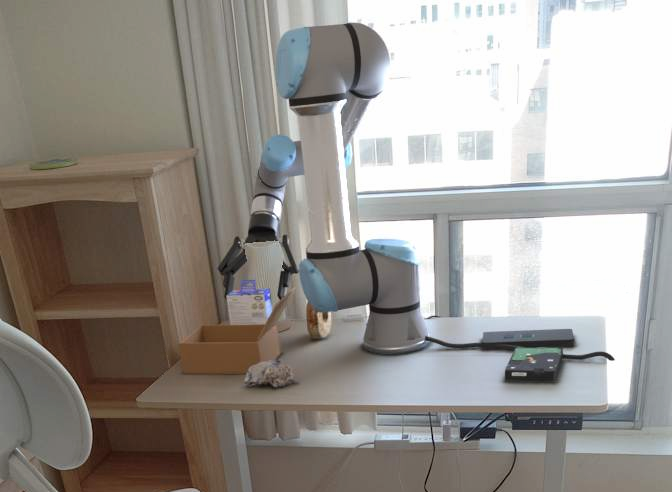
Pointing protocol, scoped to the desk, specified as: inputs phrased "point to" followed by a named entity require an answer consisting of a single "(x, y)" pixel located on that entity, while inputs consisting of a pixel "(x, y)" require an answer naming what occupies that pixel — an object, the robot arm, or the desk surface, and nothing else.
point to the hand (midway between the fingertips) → (253, 299)
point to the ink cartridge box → (249, 304)
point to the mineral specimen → (269, 374)
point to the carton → (227, 348)
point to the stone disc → (317, 323)
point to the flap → (276, 313)
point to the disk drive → (534, 364)
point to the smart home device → (529, 338)
